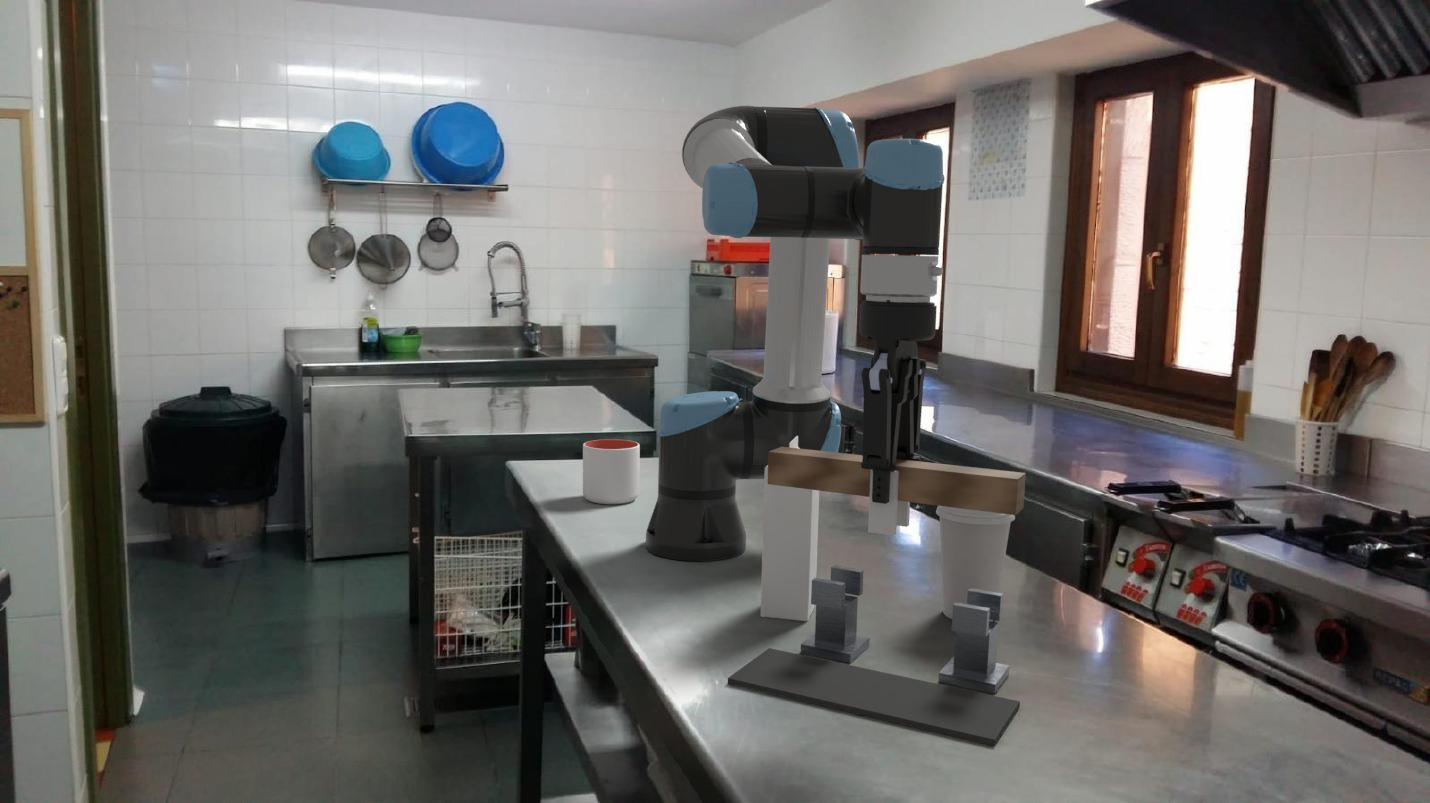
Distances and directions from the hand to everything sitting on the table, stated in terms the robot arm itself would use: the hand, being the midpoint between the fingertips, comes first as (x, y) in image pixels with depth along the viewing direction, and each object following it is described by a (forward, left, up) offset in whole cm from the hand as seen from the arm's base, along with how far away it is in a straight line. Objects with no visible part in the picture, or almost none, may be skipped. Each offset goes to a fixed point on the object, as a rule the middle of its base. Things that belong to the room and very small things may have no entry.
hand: (888, 528), depth 112 cm
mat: (0, -2, -17) cm, 17 cm away
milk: (-18, +17, -17) cm, 30 cm away
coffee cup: (+2, +28, -17) cm, 33 cm away
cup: (-70, +55, -17) cm, 91 cm away
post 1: (-8, +8, -17) cm, 20 cm away
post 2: (+8, +8, -17) cm, 20 cm away
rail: (0, 0, +3) cm, 3 cm away
